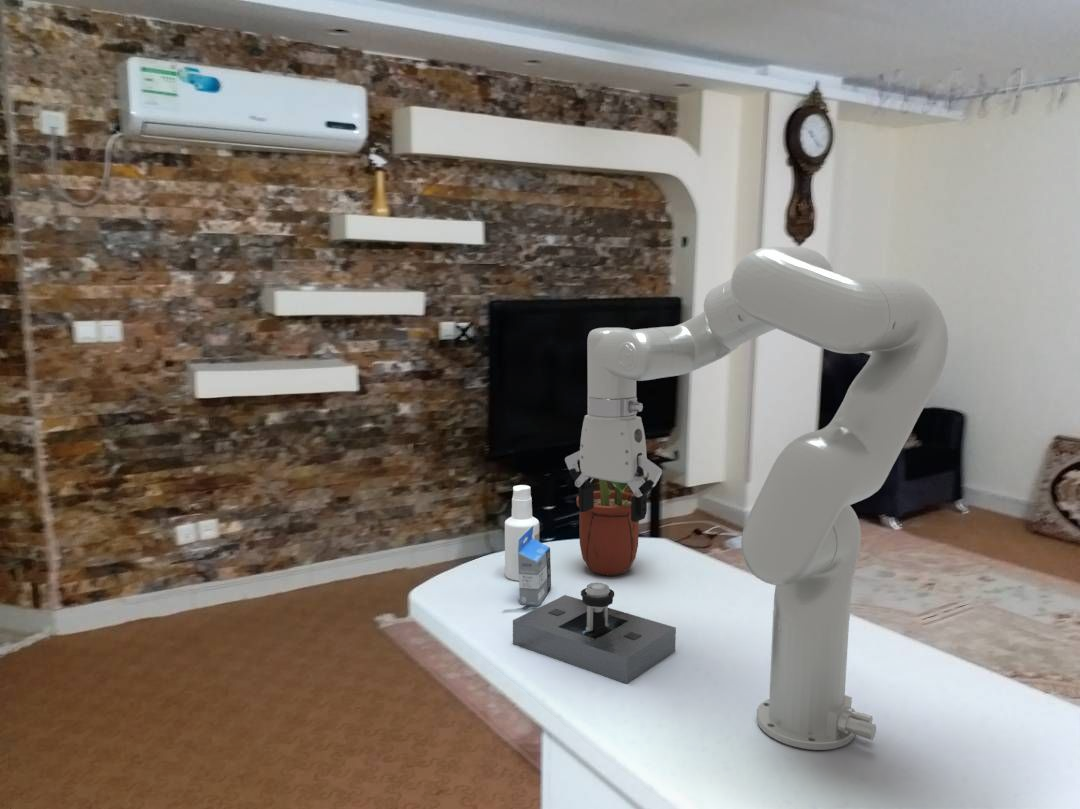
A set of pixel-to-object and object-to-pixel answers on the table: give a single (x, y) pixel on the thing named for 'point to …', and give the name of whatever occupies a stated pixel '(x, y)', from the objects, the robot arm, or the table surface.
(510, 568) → the spray bottle
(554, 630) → the gray pocketed block
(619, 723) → the table surface
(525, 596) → the label tape box
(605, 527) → the potted plant
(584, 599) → the push button
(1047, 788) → the table surface
